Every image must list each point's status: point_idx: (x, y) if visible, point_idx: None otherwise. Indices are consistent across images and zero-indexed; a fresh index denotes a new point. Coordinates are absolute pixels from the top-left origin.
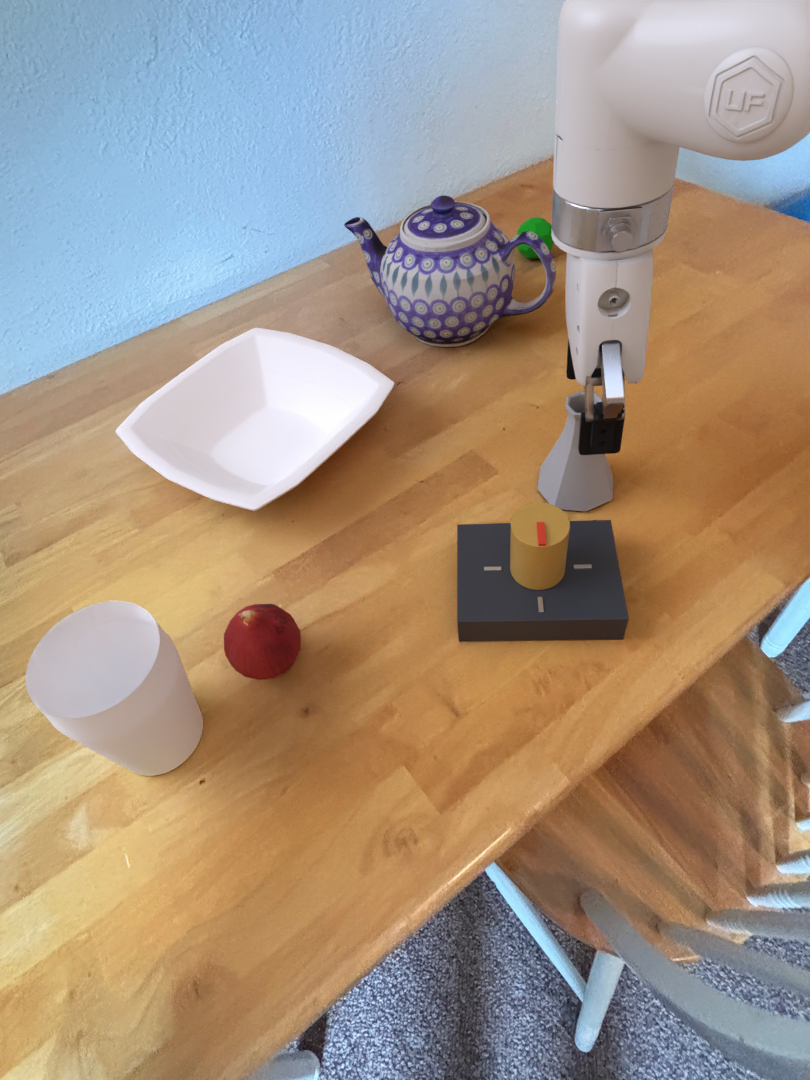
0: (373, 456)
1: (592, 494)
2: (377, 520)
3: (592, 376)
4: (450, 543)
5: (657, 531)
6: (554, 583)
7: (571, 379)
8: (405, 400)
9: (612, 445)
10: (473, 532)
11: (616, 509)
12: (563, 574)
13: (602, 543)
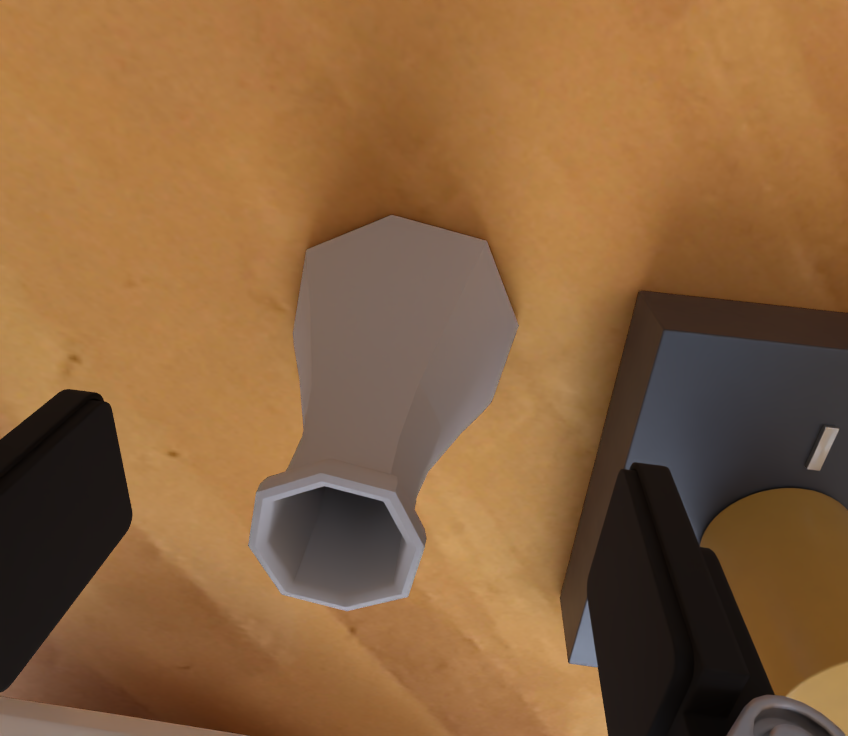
0: (269, 693)
1: (495, 323)
2: (454, 705)
3: (112, 442)
4: (547, 608)
5: (639, 126)
6: None
7: (131, 511)
8: (83, 626)
9: (718, 563)
10: None
11: (518, 231)
12: (841, 507)
13: (753, 376)
